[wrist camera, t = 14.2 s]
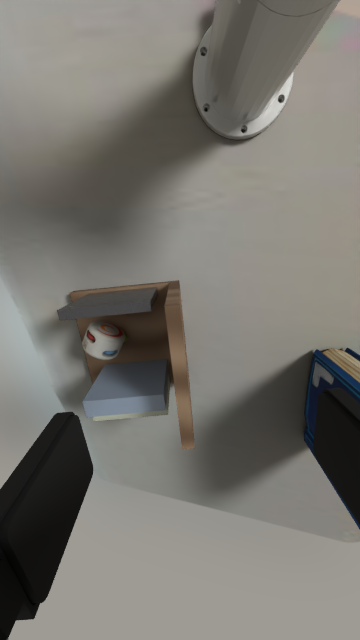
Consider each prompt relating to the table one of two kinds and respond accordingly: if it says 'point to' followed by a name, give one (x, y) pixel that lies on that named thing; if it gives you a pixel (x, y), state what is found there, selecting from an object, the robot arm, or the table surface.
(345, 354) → the book
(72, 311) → the bookend
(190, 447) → the shelf
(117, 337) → the roller toy
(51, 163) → the table surface
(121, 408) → the standing books
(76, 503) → the robot arm
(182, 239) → the table surface
